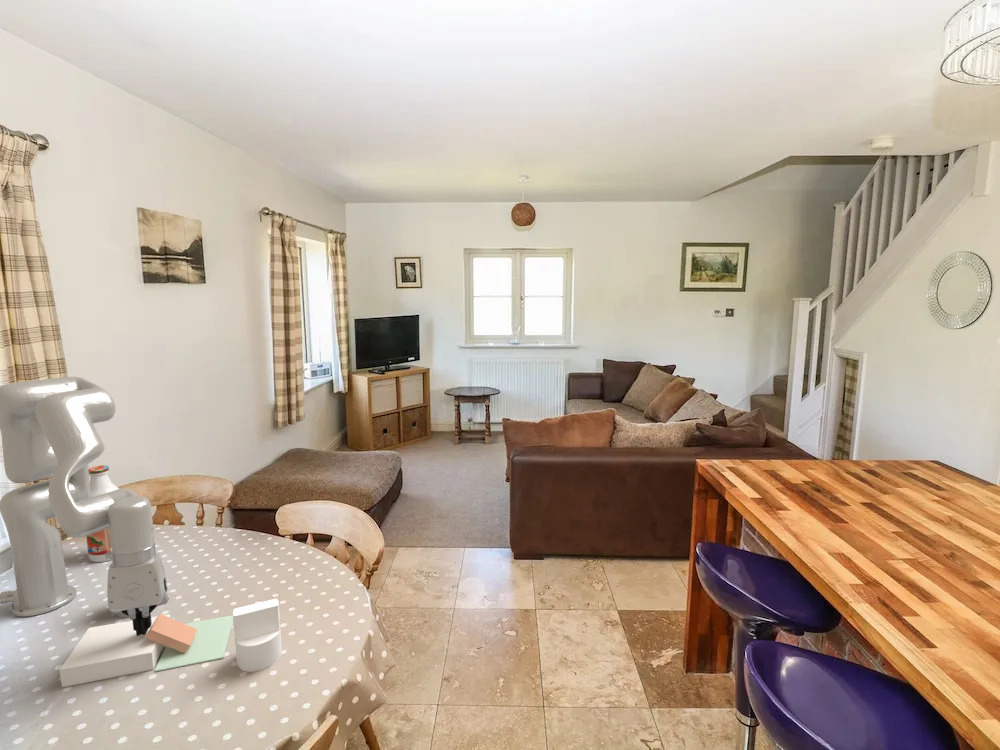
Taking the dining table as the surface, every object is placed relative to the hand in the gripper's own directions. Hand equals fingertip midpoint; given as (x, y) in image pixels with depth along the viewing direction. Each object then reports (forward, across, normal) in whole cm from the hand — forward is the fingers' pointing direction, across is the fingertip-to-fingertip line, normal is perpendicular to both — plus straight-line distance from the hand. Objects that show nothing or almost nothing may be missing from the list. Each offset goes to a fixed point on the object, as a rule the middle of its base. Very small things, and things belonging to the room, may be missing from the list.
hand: (143, 631), depth 114 cm
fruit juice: (+5, -25, +54) cm, 60 cm away
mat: (+5, +10, 0) cm, 12 cm away
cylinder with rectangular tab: (+5, +24, -10) cm, 27 cm away
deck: (+5, -5, 0) cm, 7 cm away
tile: (+2, +5, -1) cm, 6 cm away
